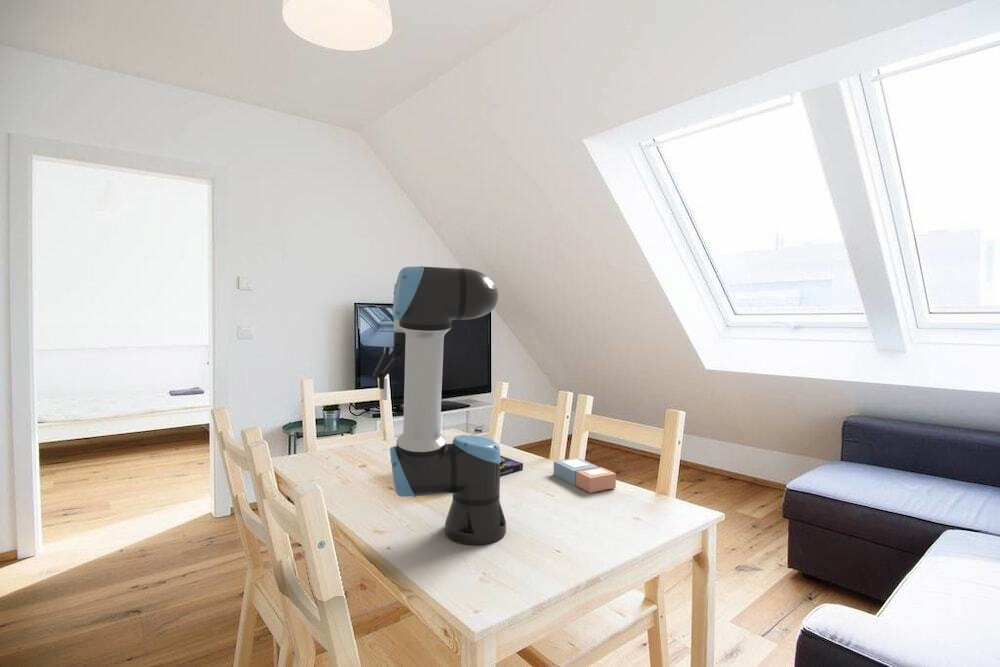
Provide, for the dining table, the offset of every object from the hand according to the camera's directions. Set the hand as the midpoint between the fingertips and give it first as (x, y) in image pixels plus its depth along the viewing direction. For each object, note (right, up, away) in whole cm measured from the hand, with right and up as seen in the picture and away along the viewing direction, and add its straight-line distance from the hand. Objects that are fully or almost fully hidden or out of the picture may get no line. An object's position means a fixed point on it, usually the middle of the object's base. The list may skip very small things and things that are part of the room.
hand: (405, 397), depth 159 cm
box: (+26, -27, +11) cm, 39 cm away
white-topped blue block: (+56, -27, +6) cm, 62 cm away
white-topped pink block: (+60, -28, -3) cm, 66 cm away
